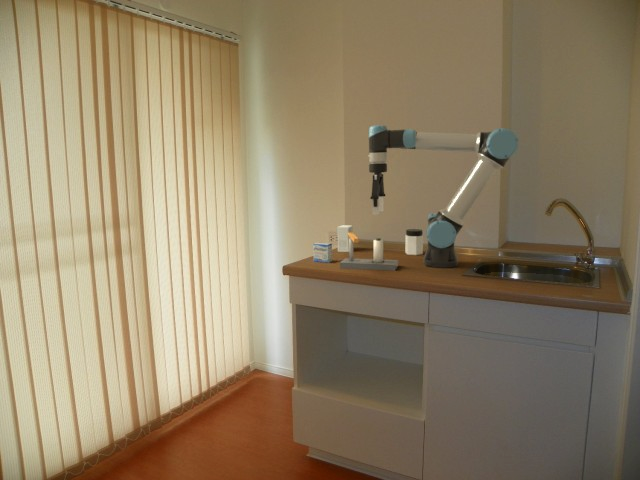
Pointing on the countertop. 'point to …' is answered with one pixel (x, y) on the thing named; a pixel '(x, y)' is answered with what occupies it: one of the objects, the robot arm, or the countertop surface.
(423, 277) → the countertop surface
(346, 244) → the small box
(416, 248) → the jar
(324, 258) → the medicine box
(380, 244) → the plug
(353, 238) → the bar
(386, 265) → the grey post stand
